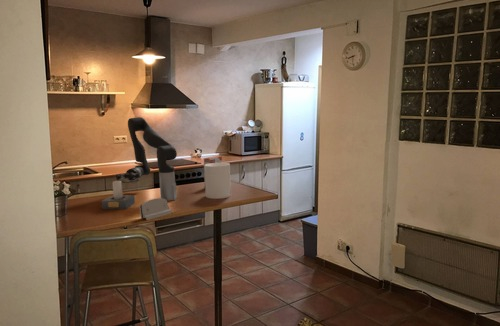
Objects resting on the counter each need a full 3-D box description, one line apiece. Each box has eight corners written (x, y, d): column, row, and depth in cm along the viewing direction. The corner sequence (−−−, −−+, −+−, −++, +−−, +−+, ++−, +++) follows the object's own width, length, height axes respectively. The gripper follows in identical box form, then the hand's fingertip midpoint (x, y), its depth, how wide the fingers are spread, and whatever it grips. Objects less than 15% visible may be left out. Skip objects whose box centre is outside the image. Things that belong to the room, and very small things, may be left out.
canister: (203, 194, 261) (201, 163, 258) (227, 192, 265) (226, 161, 263) (208, 199, 246) (207, 167, 243) (234, 197, 250) (232, 165, 248)
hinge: (146, 220, 204) (141, 201, 205) (141, 222, 208) (136, 203, 208) (172, 213, 217) (167, 195, 218) (167, 214, 220) (162, 197, 221)
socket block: (134, 203, 243) (134, 195, 242) (125, 209, 228) (125, 200, 228) (112, 203, 244) (111, 195, 243) (101, 209, 230) (101, 201, 229)
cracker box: (211, 188, 279) (209, 158, 276) (204, 187, 283) (202, 158, 280) (223, 184, 291) (222, 155, 288) (216, 184, 294) (215, 155, 291)
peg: (124, 204, 238) (122, 180, 236) (121, 206, 234) (119, 182, 232) (116, 204, 239) (114, 180, 237) (113, 206, 234) (111, 182, 232)
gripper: (122, 168, 262) (112, 172, 246) (143, 167, 261) (134, 171, 245) (123, 179, 263) (113, 184, 247) (144, 179, 262) (136, 183, 246)
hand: (124, 177), depth 246 cm, fingers open, 8 cm apart
